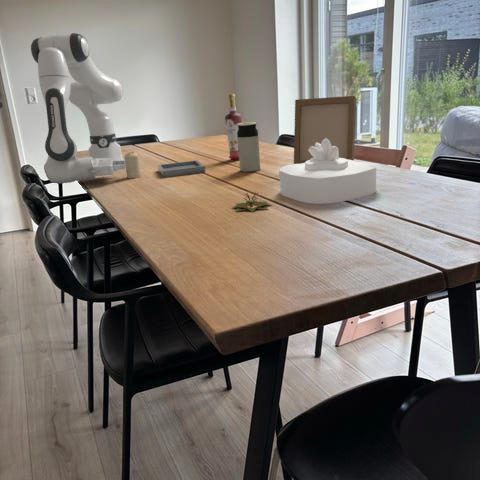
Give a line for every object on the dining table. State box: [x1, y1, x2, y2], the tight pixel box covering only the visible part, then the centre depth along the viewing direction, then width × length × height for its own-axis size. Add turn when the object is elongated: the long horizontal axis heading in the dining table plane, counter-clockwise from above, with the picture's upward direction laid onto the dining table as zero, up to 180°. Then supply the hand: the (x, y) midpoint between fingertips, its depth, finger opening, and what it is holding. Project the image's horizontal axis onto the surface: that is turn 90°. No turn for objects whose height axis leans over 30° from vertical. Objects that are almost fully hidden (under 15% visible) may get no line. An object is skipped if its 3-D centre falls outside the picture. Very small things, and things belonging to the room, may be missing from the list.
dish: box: [157, 159, 206, 179], centre depth 190 cm, size 17×17×2 cm
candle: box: [123, 151, 142, 179], centre depth 186 cm, size 6×6×10 cm
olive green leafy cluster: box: [231, 191, 271, 213], centre depth 129 cm, size 12×12×5 cm
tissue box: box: [279, 138, 377, 205], centre depth 137 cm, size 25×25×16 cm
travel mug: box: [237, 121, 261, 173], centre depth 178 cm, size 8×8×18 cm
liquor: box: [224, 93, 243, 161], centre depth 204 cm, size 7×7×28 cm
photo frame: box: [293, 95, 357, 164], centre depth 175 cm, size 15×22×25 cm
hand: (125, 164), depth 185 cm, fingers open, 8 cm apart
